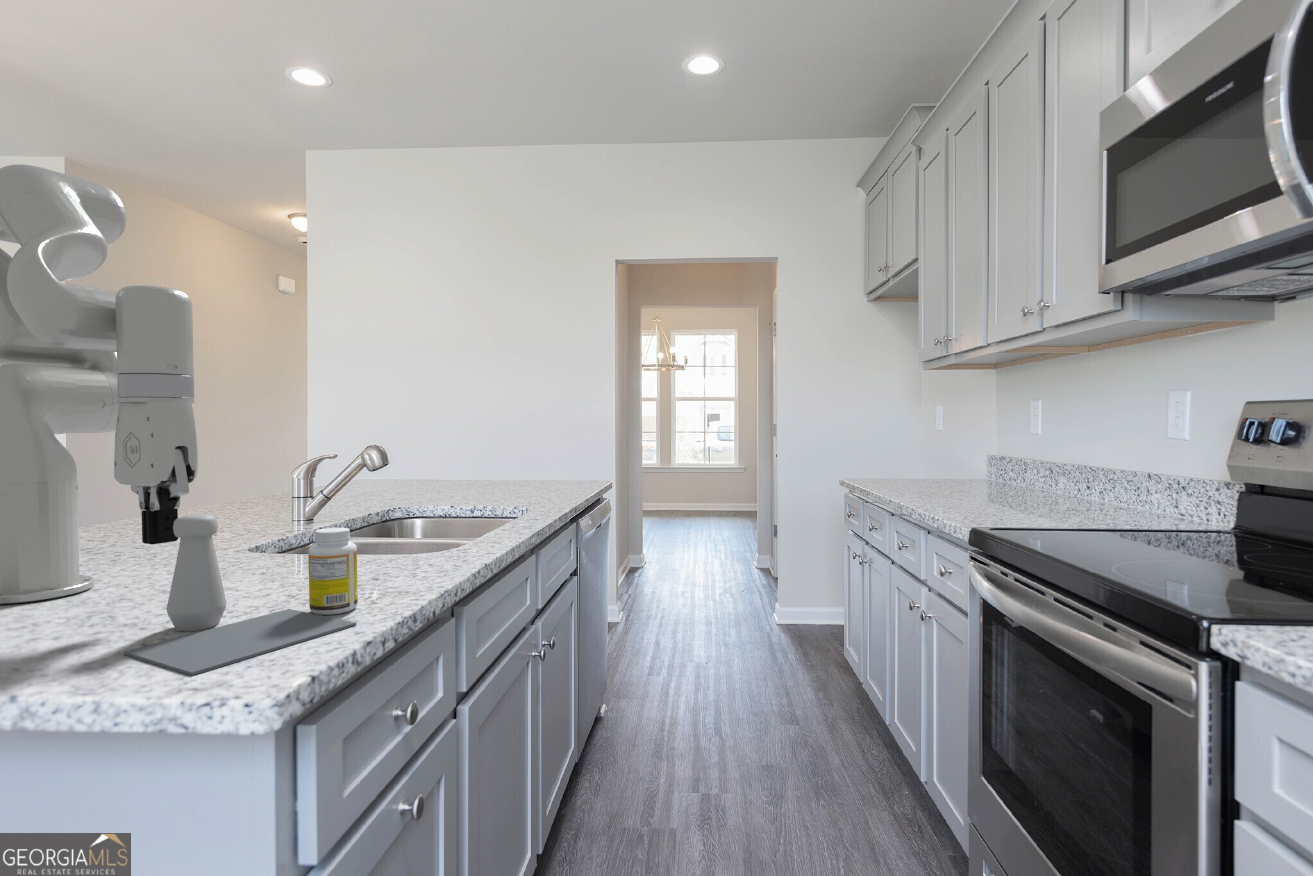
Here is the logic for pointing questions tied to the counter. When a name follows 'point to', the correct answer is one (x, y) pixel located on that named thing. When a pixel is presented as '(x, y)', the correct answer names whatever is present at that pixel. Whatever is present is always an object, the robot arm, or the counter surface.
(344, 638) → the counter surface
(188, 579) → the salt shaker
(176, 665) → the mat
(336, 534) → the supplement bottle
